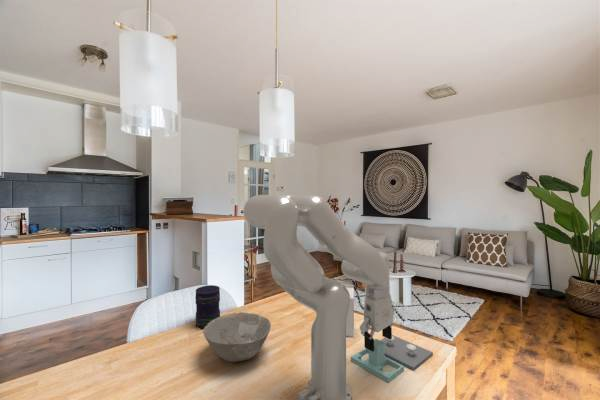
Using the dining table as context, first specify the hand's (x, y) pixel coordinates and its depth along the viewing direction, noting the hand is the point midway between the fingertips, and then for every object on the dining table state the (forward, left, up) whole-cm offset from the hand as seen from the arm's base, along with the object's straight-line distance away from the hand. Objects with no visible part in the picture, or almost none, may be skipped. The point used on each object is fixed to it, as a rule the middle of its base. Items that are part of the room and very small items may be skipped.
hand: (378, 343), depth 89 cm
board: (+12, -1, -7) cm, 14 cm away
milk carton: (+8, +21, -7) cm, 24 cm away
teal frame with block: (-1, 0, -7) cm, 7 cm away
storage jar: (-31, +63, -7) cm, 71 cm away
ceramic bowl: (-32, +34, -7) cm, 47 cm away
